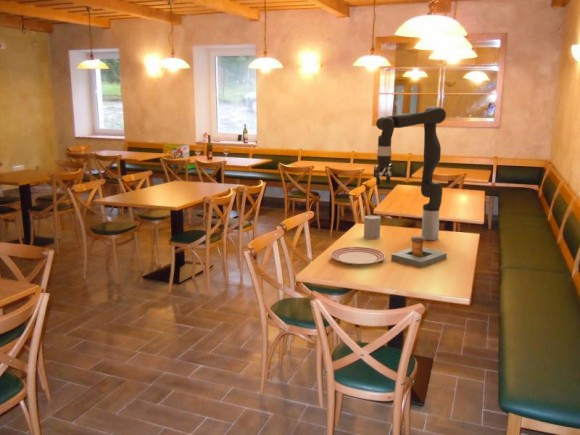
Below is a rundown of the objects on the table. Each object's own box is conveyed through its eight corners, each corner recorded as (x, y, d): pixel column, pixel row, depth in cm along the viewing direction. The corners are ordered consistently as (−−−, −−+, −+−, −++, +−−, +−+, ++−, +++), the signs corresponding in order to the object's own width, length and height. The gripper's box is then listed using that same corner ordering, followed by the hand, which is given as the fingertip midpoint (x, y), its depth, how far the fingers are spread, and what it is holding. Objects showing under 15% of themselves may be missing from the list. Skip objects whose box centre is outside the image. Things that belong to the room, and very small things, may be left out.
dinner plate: (384, 270, 250) (385, 263, 250) (327, 266, 255) (327, 260, 255) (385, 253, 277) (385, 247, 276) (333, 251, 282) (333, 245, 281)
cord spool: (415, 255, 272) (416, 235, 269) (425, 258, 267) (427, 237, 264) (407, 258, 267) (408, 237, 265) (418, 261, 263) (419, 240, 260)
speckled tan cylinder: (362, 238, 306) (363, 218, 303) (365, 234, 315) (365, 214, 312) (378, 239, 303) (379, 219, 300) (381, 235, 312) (381, 215, 309)
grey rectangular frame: (416, 251, 280) (416, 246, 279) (446, 258, 267) (446, 253, 266) (391, 259, 265) (391, 254, 264) (421, 268, 252) (422, 262, 252)
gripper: (381, 156, 276) (380, 186, 279) (397, 154, 285) (396, 183, 289) (370, 155, 281) (369, 184, 285) (386, 153, 290) (385, 182, 294)
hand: (383, 184), depth 287 cm, fingers open, 8 cm apart
